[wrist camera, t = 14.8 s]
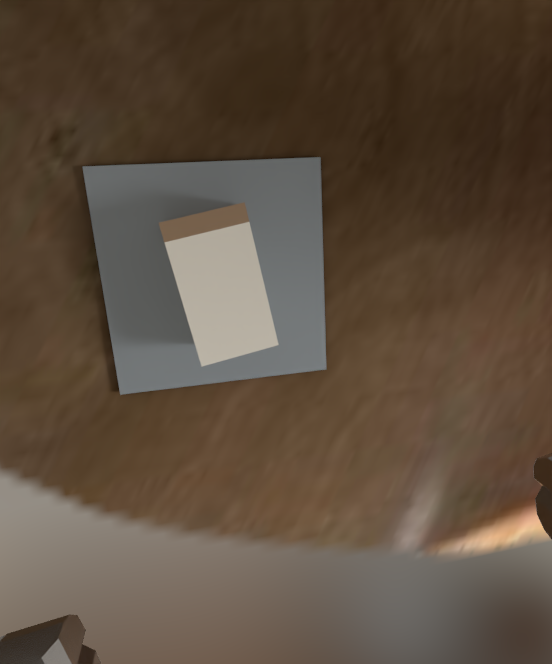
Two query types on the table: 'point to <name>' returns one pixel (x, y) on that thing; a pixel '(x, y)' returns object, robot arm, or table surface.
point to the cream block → (220, 283)
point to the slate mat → (159, 281)
